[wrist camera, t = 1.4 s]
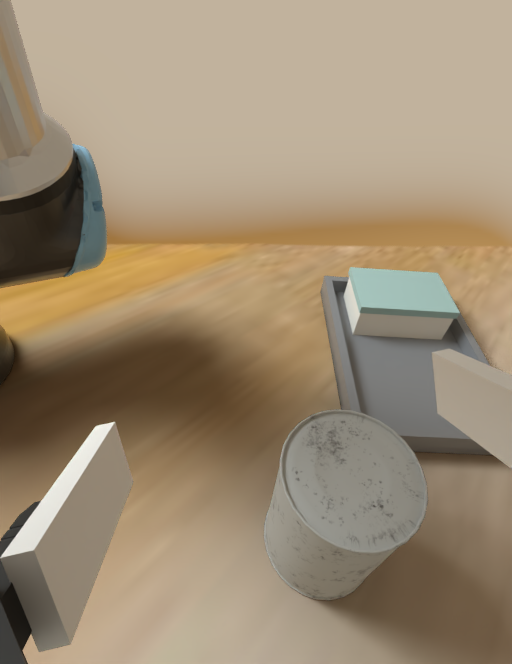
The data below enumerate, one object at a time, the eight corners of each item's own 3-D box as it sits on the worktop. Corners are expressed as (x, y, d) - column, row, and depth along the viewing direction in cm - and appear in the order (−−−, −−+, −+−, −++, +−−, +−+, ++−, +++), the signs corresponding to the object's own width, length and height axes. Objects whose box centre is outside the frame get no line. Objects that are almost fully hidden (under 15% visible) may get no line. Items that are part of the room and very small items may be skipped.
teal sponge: (443, 340, 51) (460, 312, 47) (351, 335, 50) (361, 307, 47) (424, 300, 57) (437, 272, 53) (342, 295, 56) (350, 267, 53)
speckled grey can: (369, 490, 36) (416, 420, 28) (376, 611, 30) (442, 568, 21) (270, 473, 37) (286, 399, 28) (256, 587, 30) (271, 536, 21)
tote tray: (516, 456, 40) (532, 441, 38) (348, 448, 39) (355, 433, 37) (435, 299, 59) (443, 283, 57) (320, 291, 58) (324, 275, 56)
